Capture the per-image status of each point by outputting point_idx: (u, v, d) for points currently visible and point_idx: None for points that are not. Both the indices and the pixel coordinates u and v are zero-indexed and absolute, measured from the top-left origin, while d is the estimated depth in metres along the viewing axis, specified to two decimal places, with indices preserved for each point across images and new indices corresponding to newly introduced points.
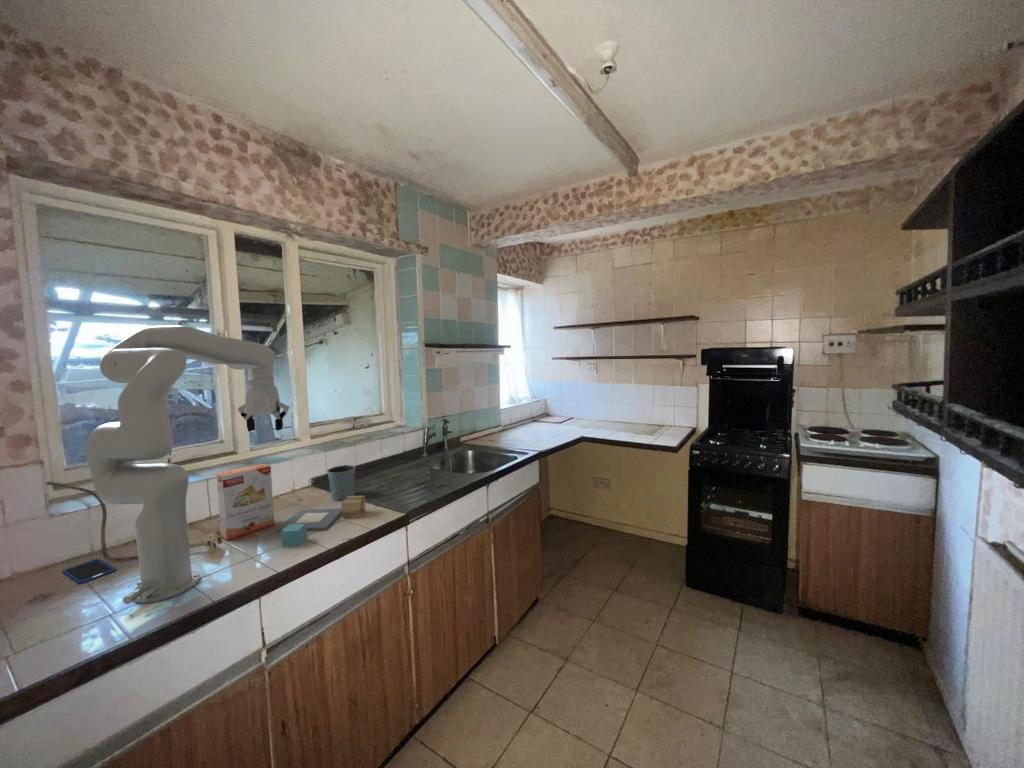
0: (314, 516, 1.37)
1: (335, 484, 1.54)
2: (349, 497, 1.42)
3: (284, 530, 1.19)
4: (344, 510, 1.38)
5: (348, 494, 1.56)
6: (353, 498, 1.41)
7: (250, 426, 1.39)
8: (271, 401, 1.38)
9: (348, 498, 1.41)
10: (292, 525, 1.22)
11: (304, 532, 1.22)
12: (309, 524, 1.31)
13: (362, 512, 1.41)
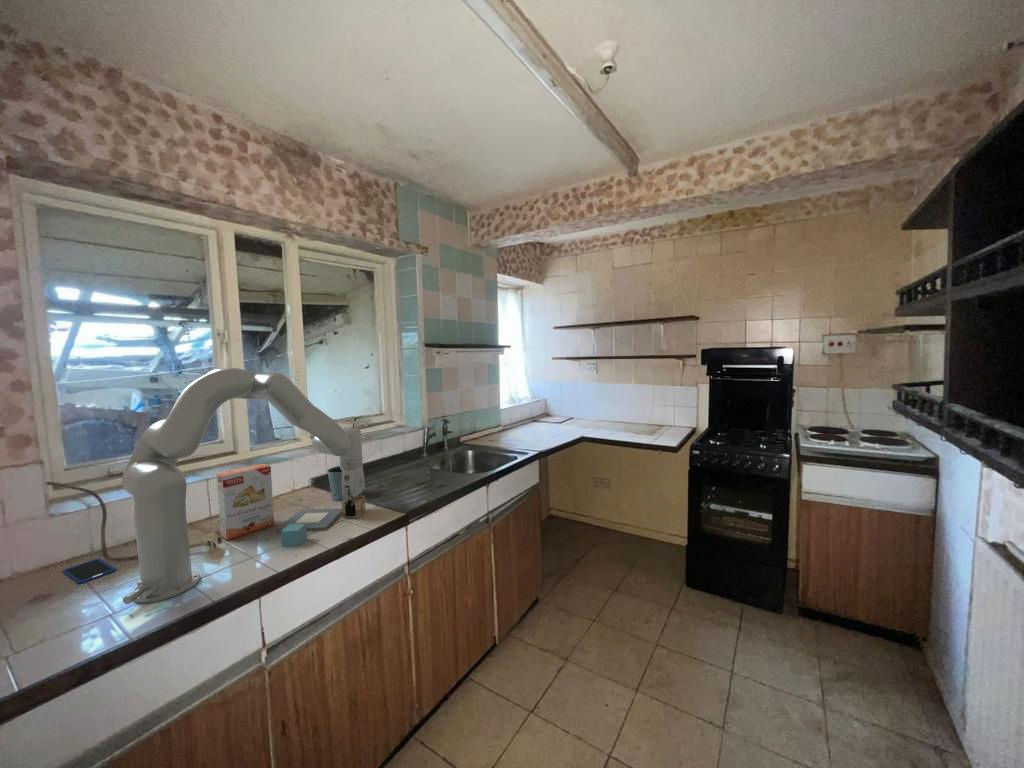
0: (314, 516, 1.37)
1: (335, 484, 1.54)
2: None
3: (284, 530, 1.19)
4: (344, 510, 1.38)
5: None
6: None
7: None
8: (363, 476, 1.45)
9: None
10: (292, 525, 1.22)
11: (304, 532, 1.22)
12: (309, 524, 1.31)
13: (362, 512, 1.41)
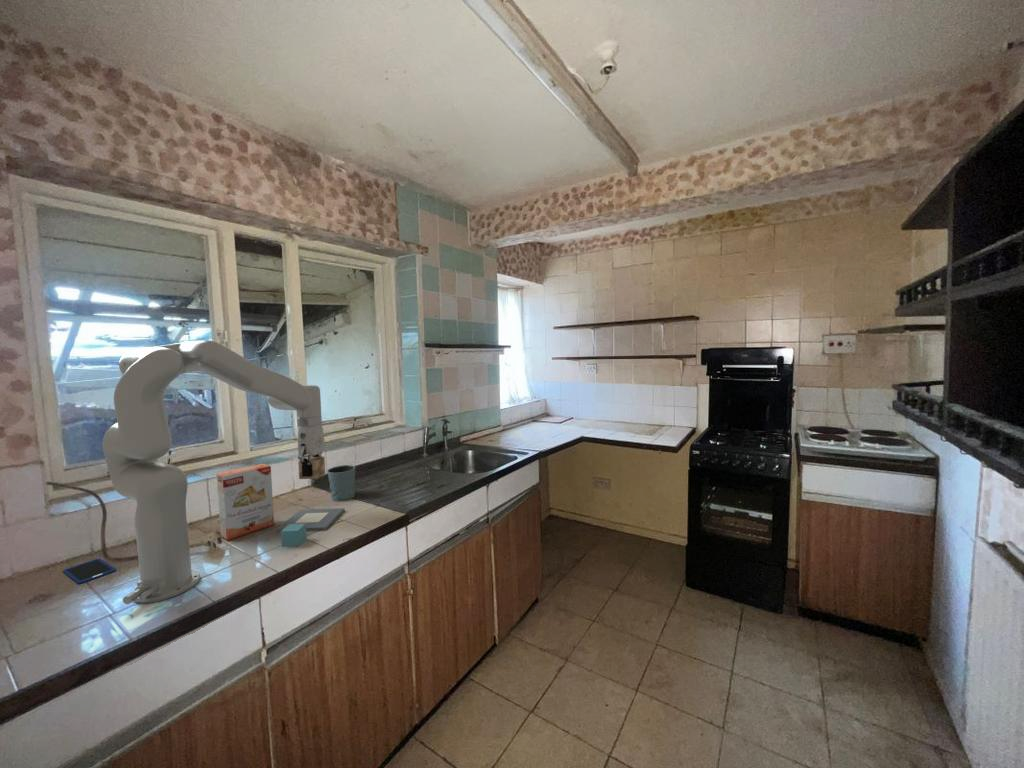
0: (314, 516, 1.37)
1: (335, 484, 1.54)
2: None
3: (284, 530, 1.19)
4: (301, 470, 1.32)
5: (348, 494, 1.56)
6: (311, 458, 1.36)
7: None
8: (323, 437, 1.39)
9: (306, 458, 1.36)
10: (292, 525, 1.22)
11: (304, 532, 1.22)
12: (309, 524, 1.31)
13: (320, 473, 1.36)
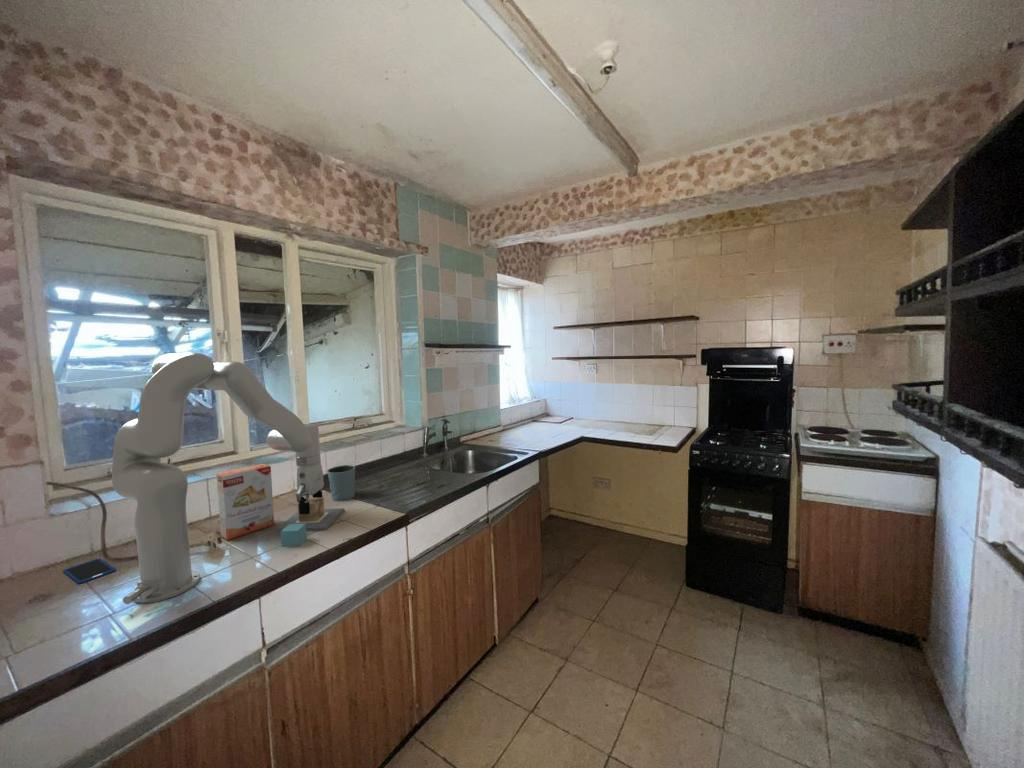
0: None
1: (335, 484, 1.54)
2: None
3: (284, 530, 1.19)
4: None
5: (348, 494, 1.56)
6: (311, 500, 1.37)
7: None
8: (322, 474, 1.40)
9: None
10: (292, 525, 1.22)
11: (304, 532, 1.22)
12: (309, 524, 1.31)
13: (320, 514, 1.36)
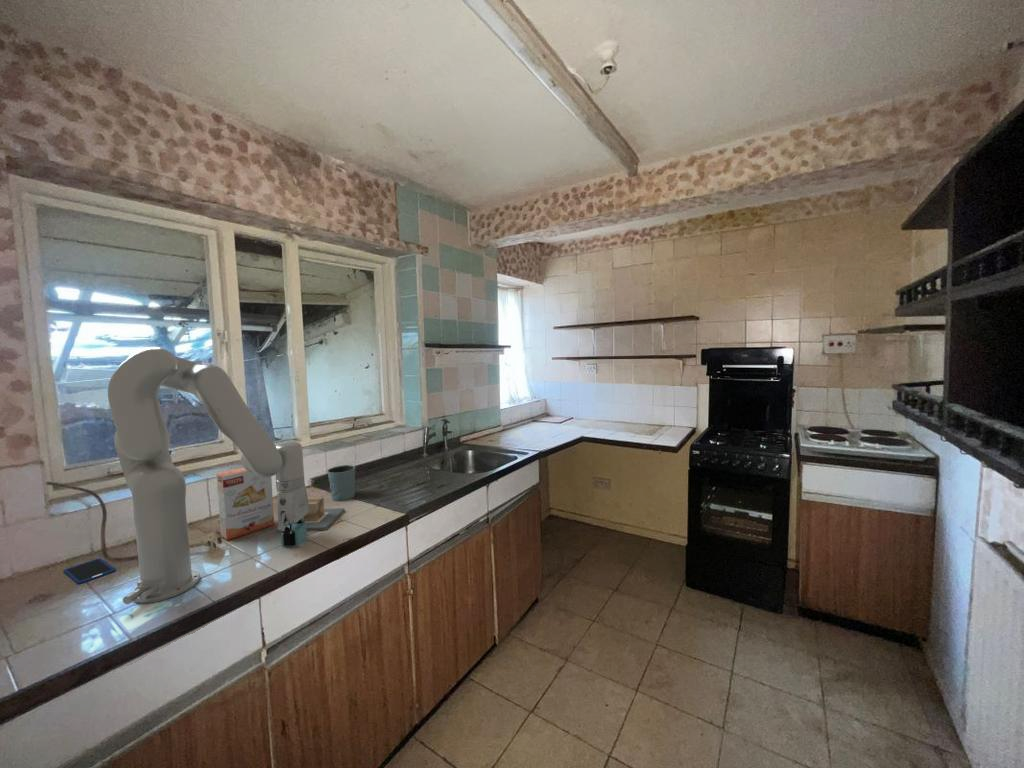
0: None
1: (335, 484, 1.54)
2: None
3: None
4: None
5: (348, 494, 1.56)
6: (311, 500, 1.37)
7: None
8: (307, 498, 1.24)
9: None
10: None
11: (304, 532, 1.22)
12: (309, 524, 1.31)
13: (320, 514, 1.36)
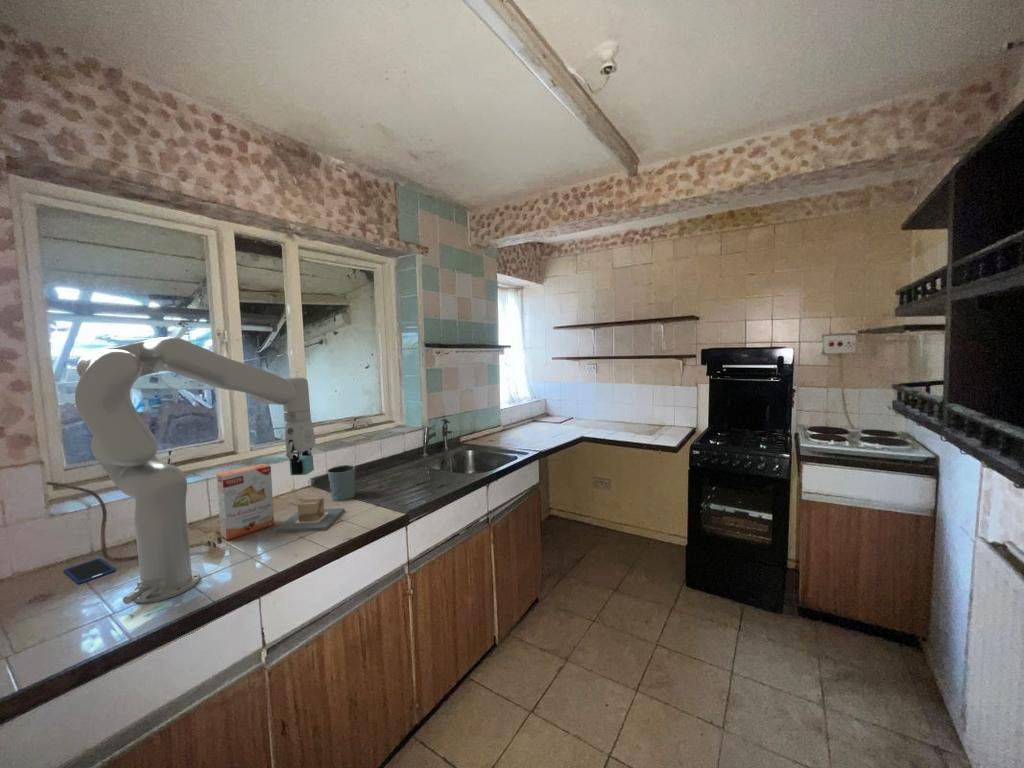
0: None
1: (335, 484, 1.54)
2: (307, 499, 1.38)
3: None
4: (300, 512, 1.33)
5: (348, 494, 1.56)
6: (311, 500, 1.37)
7: None
8: (313, 432, 1.32)
9: (305, 500, 1.37)
10: None
11: (311, 463, 1.30)
12: (309, 524, 1.31)
13: (320, 514, 1.36)
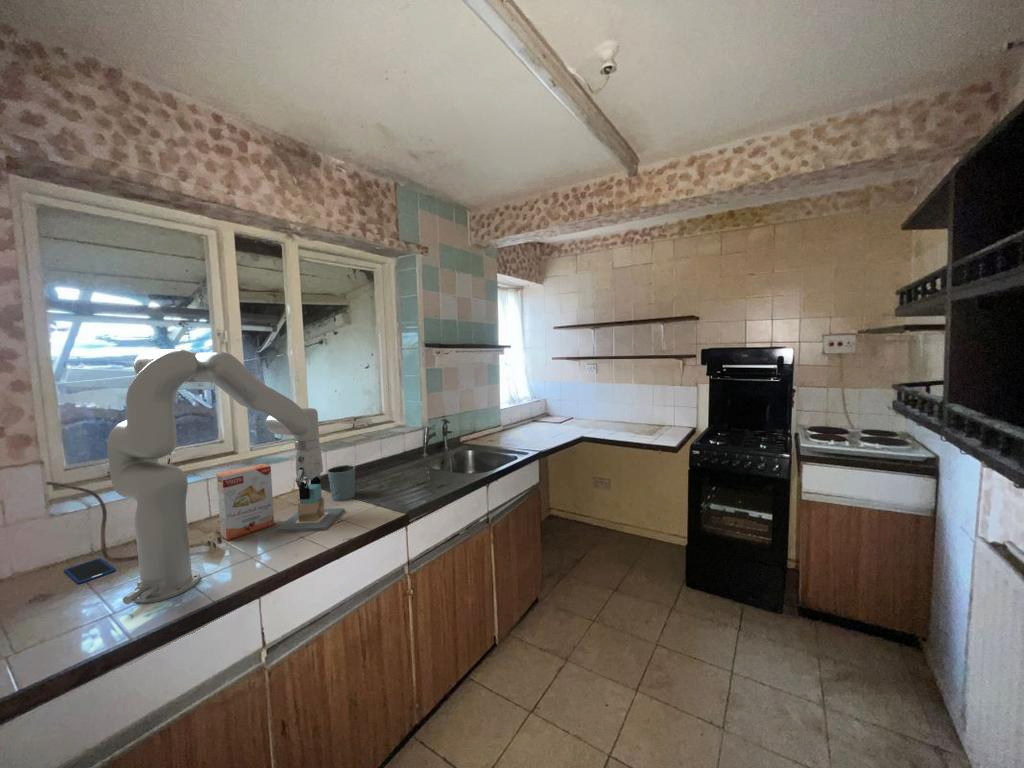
0: None
1: (335, 484, 1.54)
2: None
3: None
4: (300, 512, 1.33)
5: (348, 494, 1.56)
6: None
7: None
8: (321, 459, 1.40)
9: None
10: (309, 485, 1.37)
11: (319, 491, 1.37)
12: (309, 524, 1.31)
13: (320, 514, 1.36)
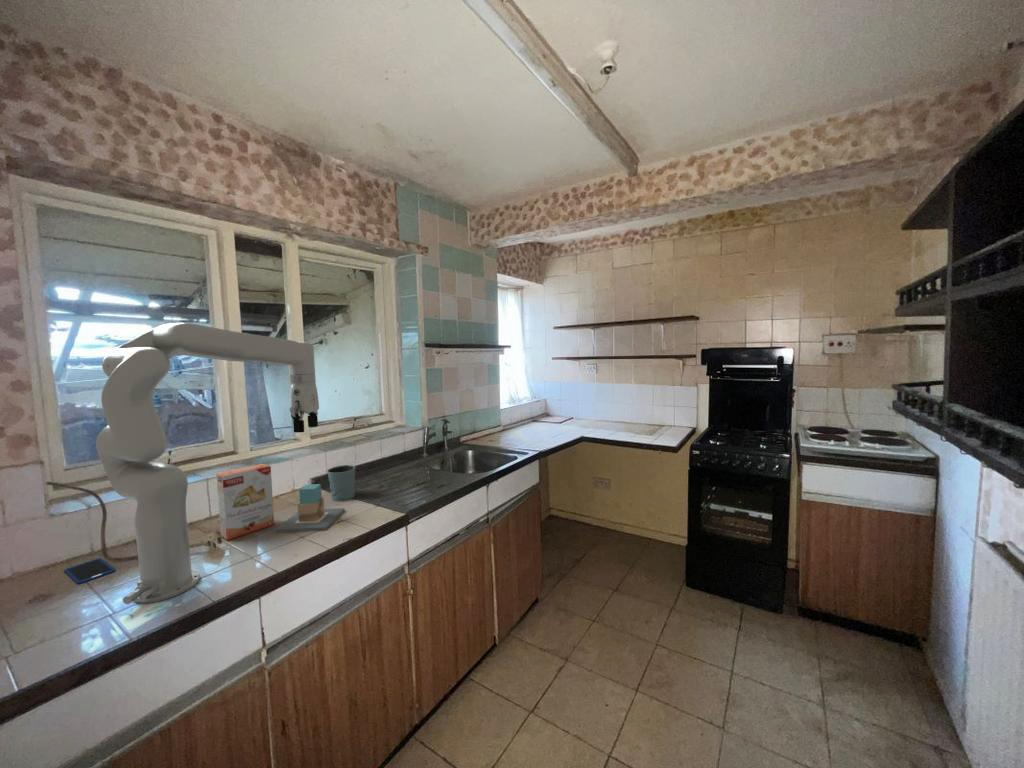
0: None
1: (335, 484, 1.54)
2: None
3: (302, 488, 1.34)
4: (300, 512, 1.33)
5: (348, 494, 1.56)
6: None
7: None
8: (317, 397, 1.38)
9: None
10: (309, 485, 1.37)
11: (319, 491, 1.37)
12: (309, 524, 1.31)
13: (320, 514, 1.36)
